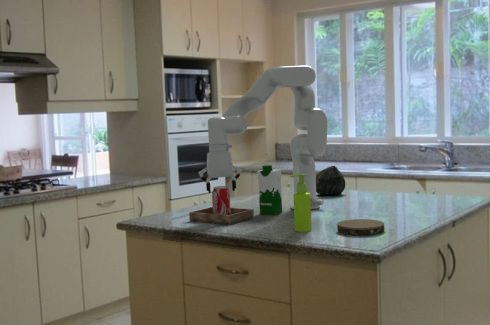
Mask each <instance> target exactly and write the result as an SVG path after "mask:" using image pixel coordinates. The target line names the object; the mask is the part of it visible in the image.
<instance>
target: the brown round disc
mask: <svg viewBox="0 0 490 325" xmlns="http://www.w3.org/2000/svg"><path fill="white" fill-rule="evenodd" d="M336 225H337V226H336V227H337V228H336V230H337V233H338V234H340V235H344V236H351V237H352V236H354V237H358V236H359V237H370V236H377V235H380V234H381V235H382V234H383V233H384V232H385V222H384V221H381V220H377V219H370V218H369V219H368V218H355V219H354V218H353V219H344V220H341V221H338V222H337V224H336Z"/></svg>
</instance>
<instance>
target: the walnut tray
mask: <svg viewBox="0 0 490 325" xmlns="http://www.w3.org/2000/svg"><path fill="white" fill-rule="evenodd" d="M230 209H231V212H230V215H218V214H213V206H210V207H205V208H201V209H198V210H192V211H190V212H189V213H188V216H189V218H188V219H189V222H197V223H205V224H213V223H214V224H215V225H223V226H231V225H235V224H238V223H241V222H245V221H248V220H252V219H255V216H254V214H255V212H254V209H252V208H242V207H231V206H230Z"/></svg>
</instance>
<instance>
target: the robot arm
mask: <svg viewBox="0 0 490 325" xmlns="http://www.w3.org/2000/svg"><path fill="white" fill-rule="evenodd" d="M315 81H316V71H315V70H314V68H313V67H311V66H310V65H306V64H305V65H293V66H292V65H291V66H290V65H288V66H283V65H282V66H275V67H270V68H267V69H265V70H264V71H263V73H261V75H260V76H259V78H258V79H256V81H255V82H254V84H253V85H252V86H251V87H250V88H249V89H248V91H247V92H246V93H244V94H242V95H241V97H240V98H238V99H237V100H236V101H235V102H233V103H232V105H231V106H230V107H228V108H227V109H226V111H225V112H224V113H223V115H222V116H221V117H220V116H217V117H210V118H208V119H207V134H208V135H207V136H208V150H209V151H208V152H207V154H206V167H205V168H203V169H202V170H200V171H198V175H199V177H200V179H201V180H202V181H203V182H205V186H206V191H207V192H208V194H210V193H211V194H212V192H211V182H210V181H211V180H212V179H216V178H229V177H230V178H231V179H232V180H231V187H232V188H231V190H232V192H235V191H236V189H237V180H238V179H239V178H240V177H241V175H242V172H243V169H242V168H240V167H238V166H236V165H233V158H232V153H231V151H229V150H230V149H232V148H233V145H232V144H229V139H228V138H229V135H241V134H244V133H245V132H246V131H247V129H248V126H249V125H248V121H247V119H246V118H245V117H247V115H249V114H251V113H253V112H255V111H257V110H260V109H261V108H262V107H263V106H265V104H266V103H267V102H268V101H269V99H271V97H272V95H273V94H274V93H275V92H276V91H277V89H279V88H282V89H283V88H289V89H290V90H291V91H292V94H293V95H294V115H293V116H294V117H293V119H294V120H293V121H294V122H293V123H294V126H295V128H296V129H297V130H299V131H304V132H305V131H306V133H298V134H296V135H294V136H293V137H292V138H291V140H290V143H289V149H290V150H289V151H290V154H291V159H292V160H291V161H292V175H294V174H305V175H306V176H304V183H306V188H307V192H308V193H310V200H311V210H317V209H319V208H321V206H323V205H324V204H325V201H324V200H323V199H319V196H317V192H316V175H317V174H316V163H315V160H314V158H320V157H321V156H323V154H325V152H326V150H327V143H328V118H327V115H326V113H325V111H324V110H323V109H321V108H317V107H316V96H315V91H314V88H313V87H312V85H313V84H314V83H315ZM234 170H235V171H237V173H236V174H235V175H234ZM206 172H207V173H206ZM205 173H206V174H207V177H205V176H204V174H205ZM292 178H293V179H292V180H293V194H294V193H297V184H298V183H299V176H296V177H292ZM290 209H293V210H294V203H292V204H291V205H290Z"/></svg>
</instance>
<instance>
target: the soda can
mask: <svg viewBox="0 0 490 325" xmlns="http://www.w3.org/2000/svg"><path fill="white" fill-rule="evenodd" d="M228 187H229V186H226V185H219V186H214V187H213V190H212V192H211V199H212V201H211V202H212V203H211V204H212V207H213V214H218V215H230V212H231V209H230V207H231V194H230V189H229V188H228Z"/></svg>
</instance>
